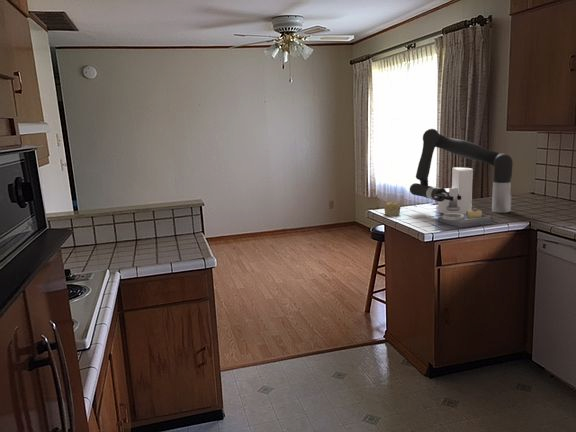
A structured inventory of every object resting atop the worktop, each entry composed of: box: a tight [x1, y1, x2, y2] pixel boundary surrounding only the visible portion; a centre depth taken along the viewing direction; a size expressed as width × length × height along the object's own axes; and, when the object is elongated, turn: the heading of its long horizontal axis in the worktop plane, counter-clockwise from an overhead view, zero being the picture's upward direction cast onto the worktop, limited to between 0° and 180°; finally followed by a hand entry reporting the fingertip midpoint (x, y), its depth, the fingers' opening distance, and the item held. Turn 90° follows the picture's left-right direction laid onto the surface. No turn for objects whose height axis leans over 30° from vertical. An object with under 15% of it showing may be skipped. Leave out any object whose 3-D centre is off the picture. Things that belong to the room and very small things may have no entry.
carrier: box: [437, 207, 493, 228], centre depth 250 cm, size 20×18×8 cm
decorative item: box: [383, 201, 402, 217], centre depth 278 cm, size 10×10×10 cm
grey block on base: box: [446, 187, 460, 211], centre depth 250 cm, size 7×7×12 cm
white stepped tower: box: [437, 166, 474, 215], centre depth 276 cm, size 19×19×25 cm
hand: (456, 198), depth 248 cm, fingers closed on grey block on base, 4 cm apart
